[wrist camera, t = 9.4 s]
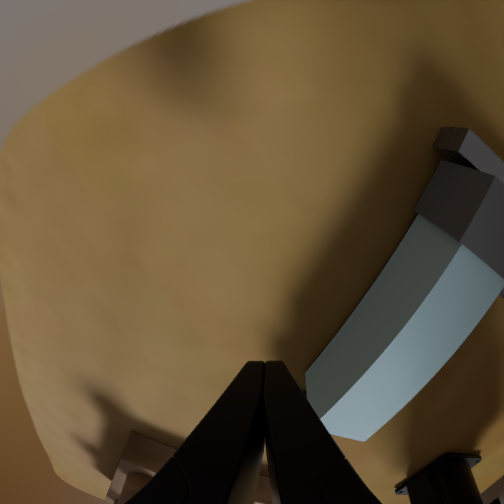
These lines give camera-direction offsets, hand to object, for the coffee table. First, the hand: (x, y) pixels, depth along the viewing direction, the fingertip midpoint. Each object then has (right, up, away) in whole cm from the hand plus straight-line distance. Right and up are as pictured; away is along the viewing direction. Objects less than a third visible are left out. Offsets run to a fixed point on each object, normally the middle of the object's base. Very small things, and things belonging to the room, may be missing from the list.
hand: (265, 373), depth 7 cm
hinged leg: (+6, +1, +6) cm, 8 cm away
